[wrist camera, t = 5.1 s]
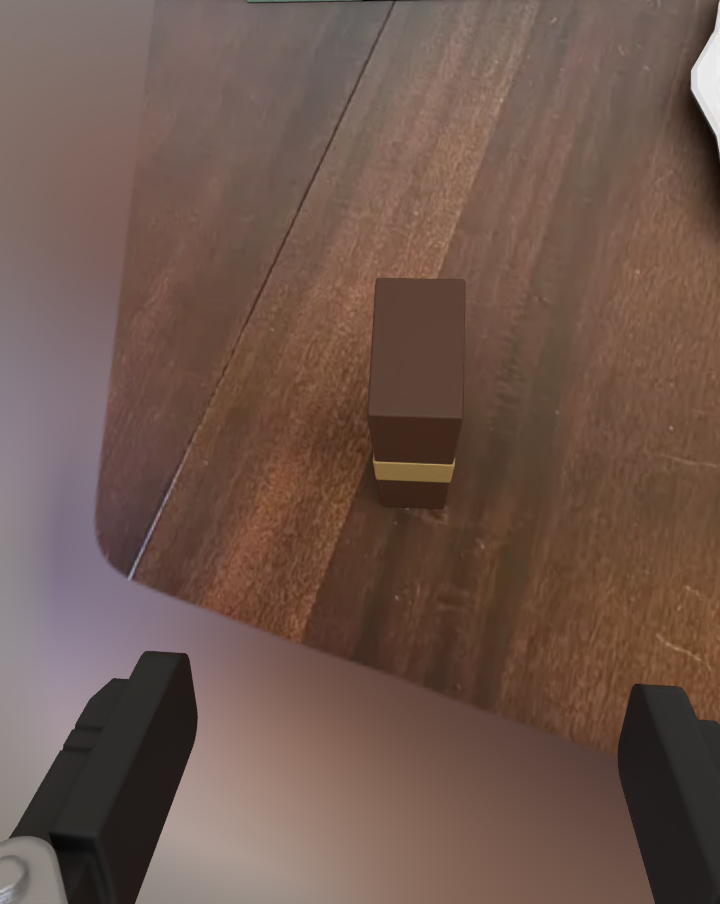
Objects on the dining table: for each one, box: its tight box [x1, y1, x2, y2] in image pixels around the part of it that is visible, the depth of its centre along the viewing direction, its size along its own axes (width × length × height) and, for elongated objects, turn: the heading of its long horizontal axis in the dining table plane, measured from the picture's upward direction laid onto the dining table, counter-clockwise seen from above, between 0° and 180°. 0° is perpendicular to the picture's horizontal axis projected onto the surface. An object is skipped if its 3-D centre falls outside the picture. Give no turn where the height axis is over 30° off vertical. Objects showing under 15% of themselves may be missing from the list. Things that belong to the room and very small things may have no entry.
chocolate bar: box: [367, 278, 466, 509], centre depth 28 cm, size 3×5×12 cm, turn 177°
